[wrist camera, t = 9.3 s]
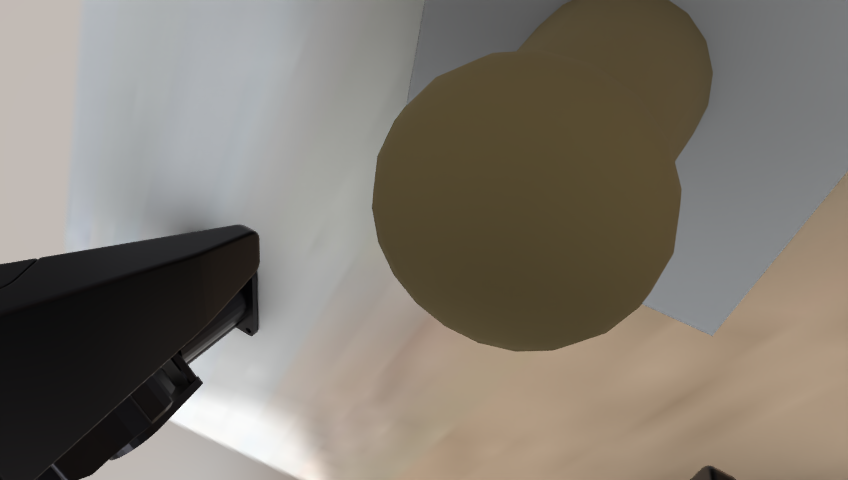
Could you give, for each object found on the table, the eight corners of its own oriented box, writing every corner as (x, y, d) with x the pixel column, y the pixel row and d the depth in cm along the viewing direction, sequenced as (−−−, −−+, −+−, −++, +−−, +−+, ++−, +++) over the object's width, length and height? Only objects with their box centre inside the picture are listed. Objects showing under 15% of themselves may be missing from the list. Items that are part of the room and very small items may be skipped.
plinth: (712, 305, 19) (712, 335, 18) (412, 174, 23) (391, 190, 22) (1044, -123, 11) (1097, -135, 9) (492, -218, 15) (467, -238, 13)
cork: (526, -19, 15) (296, 18, 7) (745, -8, 13) (808, 69, 4) (505, 160, 18) (330, 336, 10) (677, 195, 16) (640, 463, 8)
